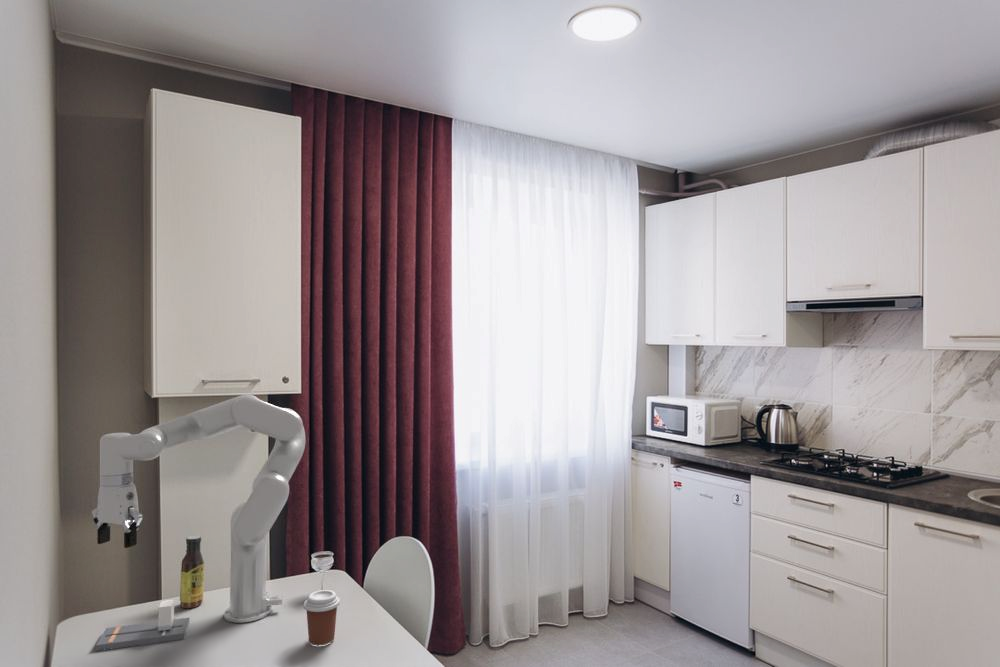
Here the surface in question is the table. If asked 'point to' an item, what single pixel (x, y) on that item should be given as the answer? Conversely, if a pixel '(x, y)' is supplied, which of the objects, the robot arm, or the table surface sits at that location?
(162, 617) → the fader
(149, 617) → the table surface
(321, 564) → the wineglass
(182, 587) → the sauce bottle
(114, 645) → the grey slider base
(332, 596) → the coffee cup
